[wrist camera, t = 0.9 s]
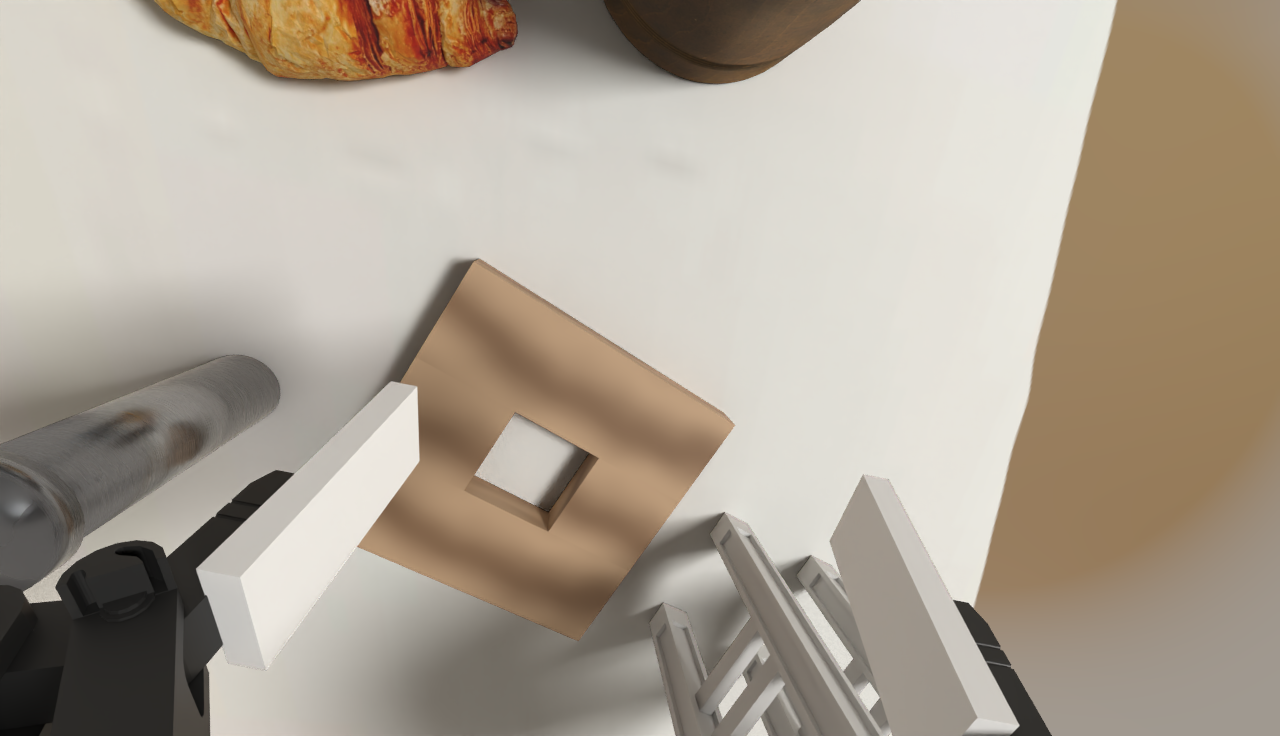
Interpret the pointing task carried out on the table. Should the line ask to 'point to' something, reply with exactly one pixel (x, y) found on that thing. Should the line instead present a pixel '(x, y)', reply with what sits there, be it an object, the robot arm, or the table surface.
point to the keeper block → (565, 405)
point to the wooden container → (722, 33)
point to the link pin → (117, 459)
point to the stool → (769, 655)
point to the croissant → (353, 33)
